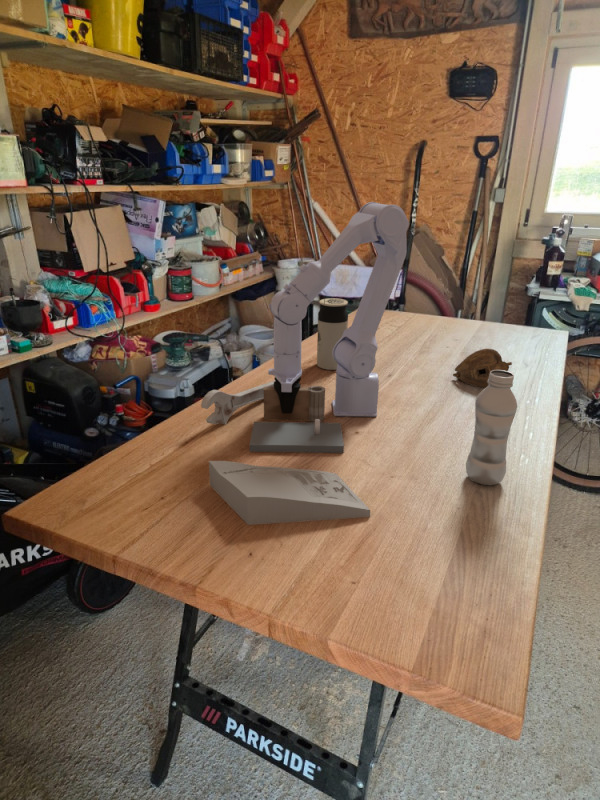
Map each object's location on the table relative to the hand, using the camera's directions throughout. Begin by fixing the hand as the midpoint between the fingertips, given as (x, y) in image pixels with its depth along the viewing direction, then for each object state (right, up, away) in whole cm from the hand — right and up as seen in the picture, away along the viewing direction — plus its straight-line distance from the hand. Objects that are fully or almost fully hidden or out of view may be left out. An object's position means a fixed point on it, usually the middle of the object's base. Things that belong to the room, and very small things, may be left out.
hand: (287, 410), depth 114 cm
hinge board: (+2, -6, -8) cm, 10 cm away
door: (+2, -2, +1) cm, 2 cm away
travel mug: (+11, +12, +32) cm, 36 cm away
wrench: (-9, 0, +6) cm, 10 cm away
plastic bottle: (+35, -12, -21) cm, 43 cm away
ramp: (+1, -15, -27) cm, 31 cm away
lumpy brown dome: (+52, +9, +28) cm, 60 cm away
